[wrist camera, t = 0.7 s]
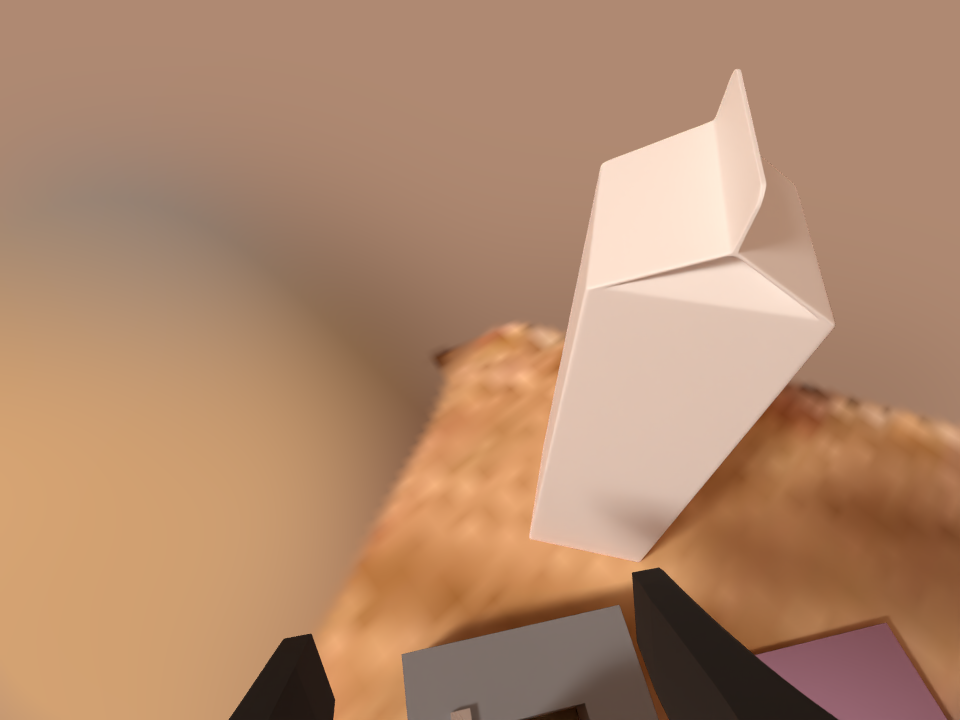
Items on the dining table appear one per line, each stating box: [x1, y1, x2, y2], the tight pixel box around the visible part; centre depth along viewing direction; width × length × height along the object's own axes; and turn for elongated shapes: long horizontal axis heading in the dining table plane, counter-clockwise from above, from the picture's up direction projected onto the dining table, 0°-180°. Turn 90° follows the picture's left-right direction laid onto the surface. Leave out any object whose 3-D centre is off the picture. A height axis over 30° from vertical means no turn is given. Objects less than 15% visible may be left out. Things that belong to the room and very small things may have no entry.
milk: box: [529, 69, 835, 562], centre depth 20 cm, size 6×6×22 cm
